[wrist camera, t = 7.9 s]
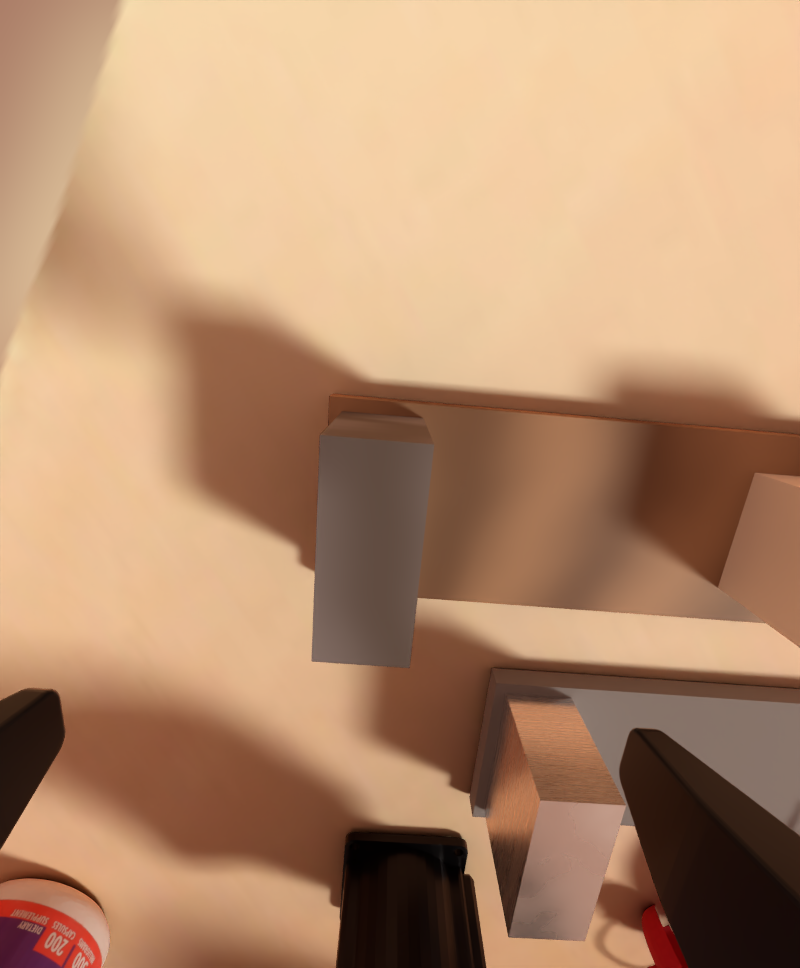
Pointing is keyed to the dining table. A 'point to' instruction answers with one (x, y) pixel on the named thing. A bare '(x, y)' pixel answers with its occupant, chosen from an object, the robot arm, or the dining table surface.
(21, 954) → the pill bottle
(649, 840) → the robot arm
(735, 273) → the dining table surface
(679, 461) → the walnut strip
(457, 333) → the dining table surface
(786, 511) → the cream block
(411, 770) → the dining table surface
